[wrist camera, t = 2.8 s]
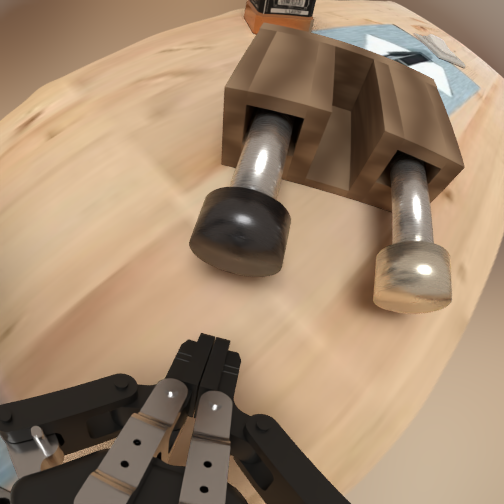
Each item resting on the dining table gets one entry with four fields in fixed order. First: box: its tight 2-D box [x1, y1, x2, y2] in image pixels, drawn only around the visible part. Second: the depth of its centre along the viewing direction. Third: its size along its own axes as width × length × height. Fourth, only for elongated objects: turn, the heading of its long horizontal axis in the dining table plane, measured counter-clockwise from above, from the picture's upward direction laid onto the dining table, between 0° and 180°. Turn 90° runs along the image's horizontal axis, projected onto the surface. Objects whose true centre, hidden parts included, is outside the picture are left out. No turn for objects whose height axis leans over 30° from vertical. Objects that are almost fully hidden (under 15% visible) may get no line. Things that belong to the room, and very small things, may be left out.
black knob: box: [189, 107, 295, 277], centre depth 21 cm, size 6×15×6 cm, turn 167°
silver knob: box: [373, 150, 452, 314], centre depth 21 cm, size 6×15×6 cm, turn 167°
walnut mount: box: [222, 23, 464, 212], centre depth 26 cm, size 20×14×9 cm
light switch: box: [414, 33, 465, 68], centre depth 52 cm, size 11×4×13 cm
